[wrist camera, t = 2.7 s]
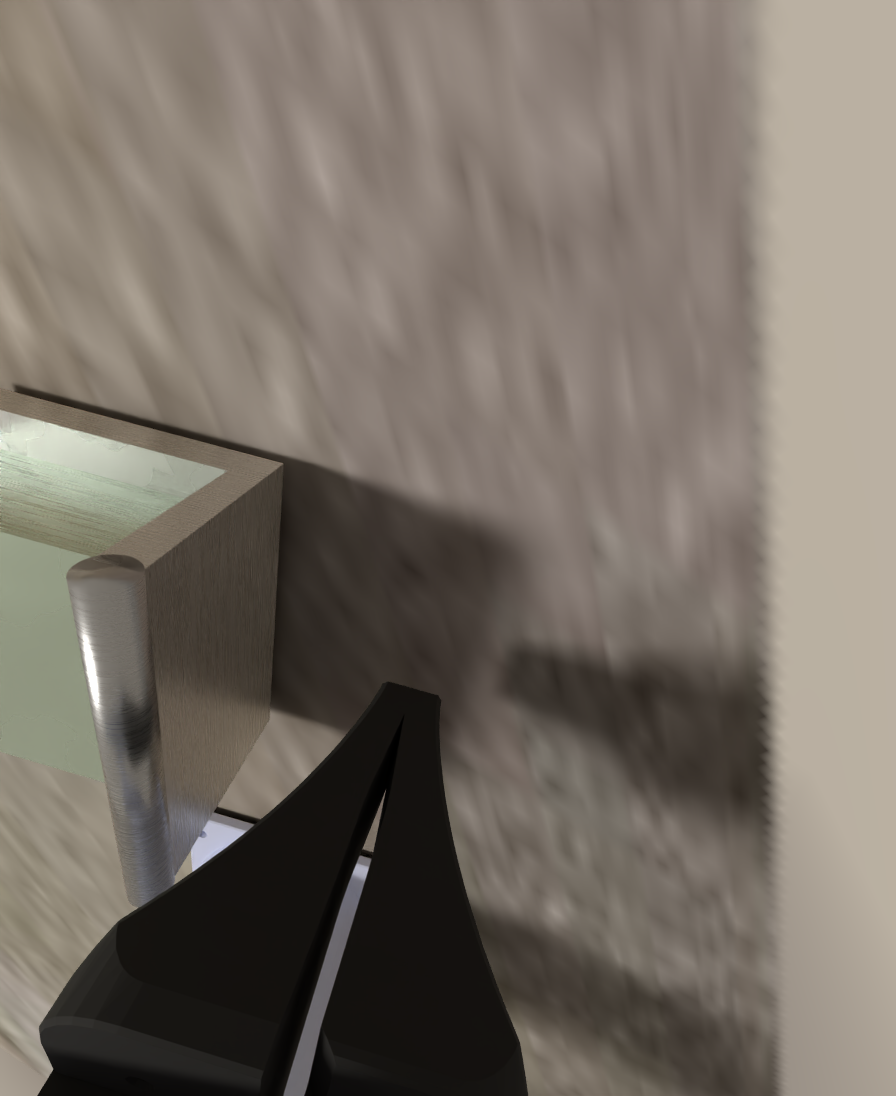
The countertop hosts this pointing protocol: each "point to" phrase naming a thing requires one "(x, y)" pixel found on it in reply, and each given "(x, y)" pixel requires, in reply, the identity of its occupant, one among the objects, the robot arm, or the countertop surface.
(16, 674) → the green and grey box
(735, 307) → the countertop surface
